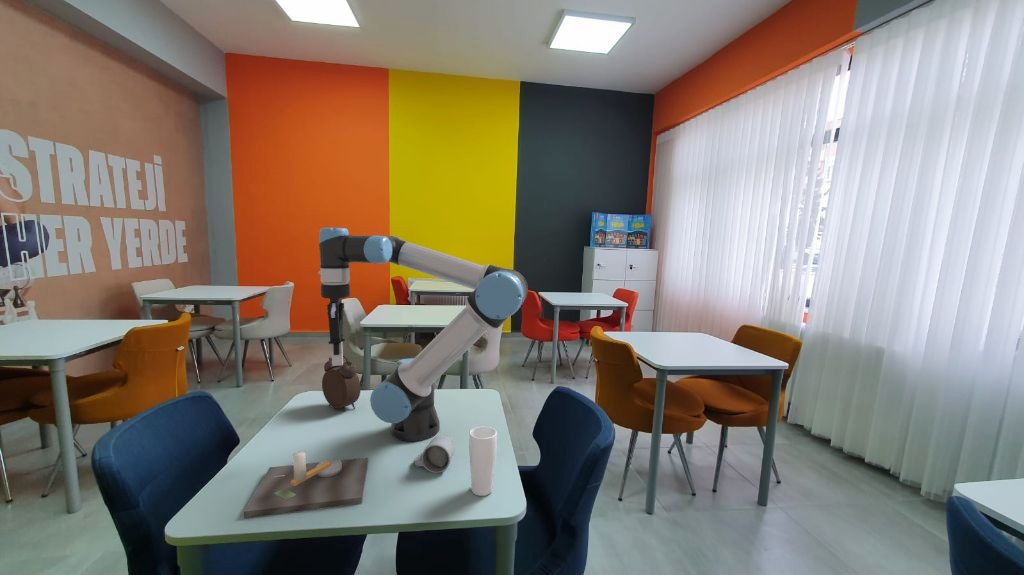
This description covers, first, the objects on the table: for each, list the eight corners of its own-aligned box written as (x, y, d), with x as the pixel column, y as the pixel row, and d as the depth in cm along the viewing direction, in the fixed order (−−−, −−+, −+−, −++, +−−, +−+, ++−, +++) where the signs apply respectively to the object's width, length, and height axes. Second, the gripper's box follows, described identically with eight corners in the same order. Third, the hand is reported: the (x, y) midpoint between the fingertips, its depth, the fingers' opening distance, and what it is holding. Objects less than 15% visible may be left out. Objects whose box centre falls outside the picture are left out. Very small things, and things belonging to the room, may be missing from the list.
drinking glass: (499, 496, 99) (500, 437, 98) (471, 501, 97) (472, 440, 96) (492, 480, 106) (493, 424, 104) (466, 484, 104) (466, 427, 102)
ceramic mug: (456, 458, 116) (456, 431, 115) (449, 474, 108) (449, 446, 107) (419, 456, 117) (418, 430, 116) (410, 472, 109) (409, 444, 108)
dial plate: (368, 462, 113) (368, 457, 113) (361, 503, 95) (361, 496, 95) (270, 472, 107) (269, 466, 107) (243, 518, 89) (243, 511, 89)
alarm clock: (364, 409, 148) (363, 354, 145) (346, 416, 141) (345, 359, 139) (338, 400, 155) (336, 348, 153) (320, 406, 149) (319, 352, 147)
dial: (331, 462, 110) (330, 432, 109) (347, 468, 107) (346, 437, 106) (284, 487, 98) (283, 454, 97) (301, 495, 95) (300, 461, 94)
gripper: (324, 280, 122) (327, 359, 124) (316, 285, 109) (319, 372, 112) (351, 280, 124) (353, 357, 126) (346, 285, 111) (348, 370, 114)
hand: (337, 364), depth 119 cm, fingers closed
